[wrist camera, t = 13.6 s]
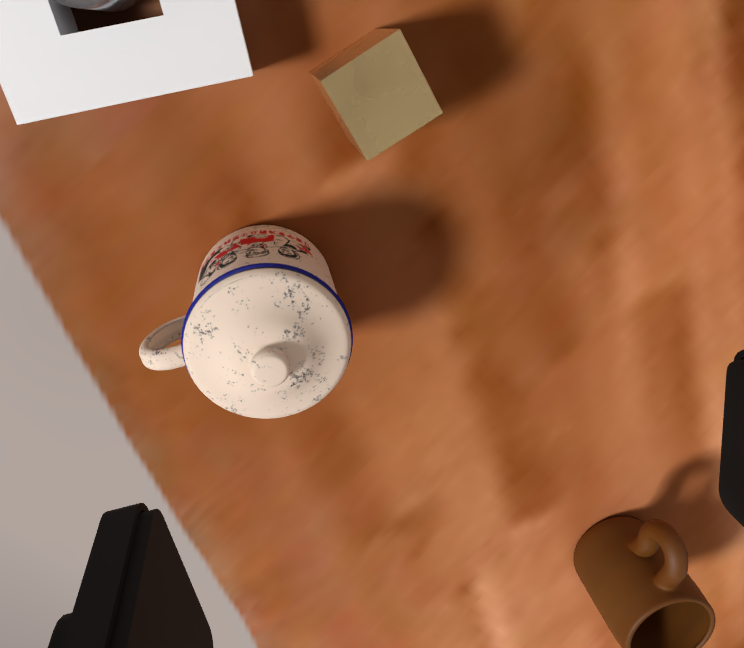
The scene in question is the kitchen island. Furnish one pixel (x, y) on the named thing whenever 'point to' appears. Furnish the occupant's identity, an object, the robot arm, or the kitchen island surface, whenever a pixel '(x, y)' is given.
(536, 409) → the kitchen island surface
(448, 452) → the kitchen island surface
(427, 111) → the square bit
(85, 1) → the round bit
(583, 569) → the mug
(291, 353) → the teacup with lid
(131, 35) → the block
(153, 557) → the robot arm
